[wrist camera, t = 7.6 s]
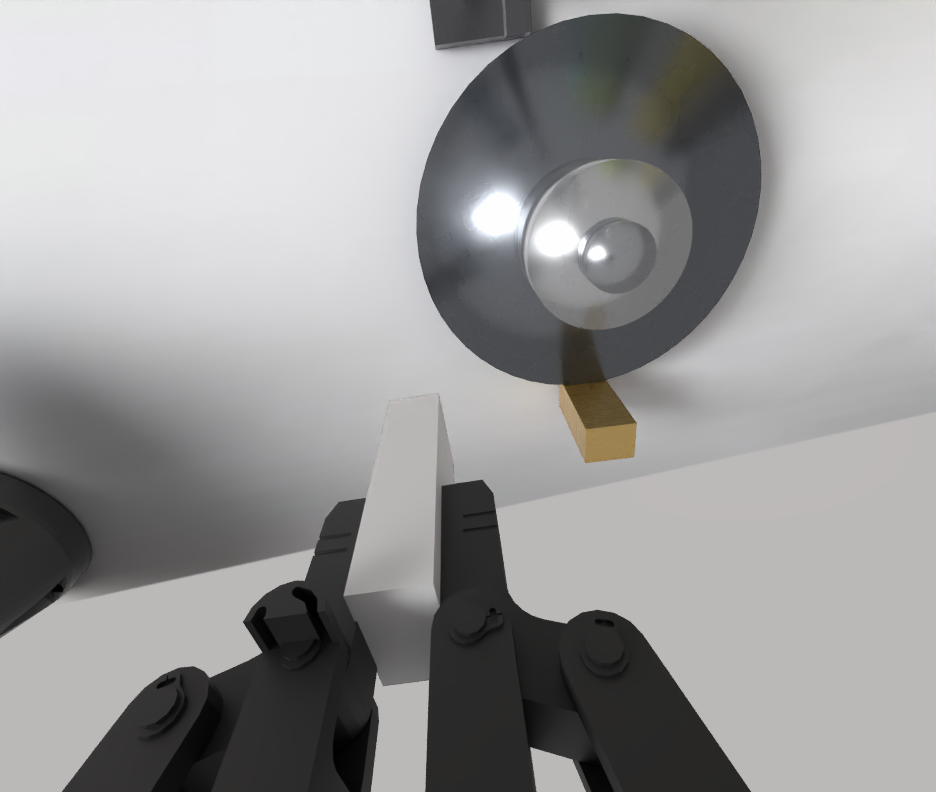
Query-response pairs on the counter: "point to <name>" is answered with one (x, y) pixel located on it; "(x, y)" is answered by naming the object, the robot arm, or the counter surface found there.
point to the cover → (603, 240)
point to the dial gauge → (479, 21)
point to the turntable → (572, 138)
